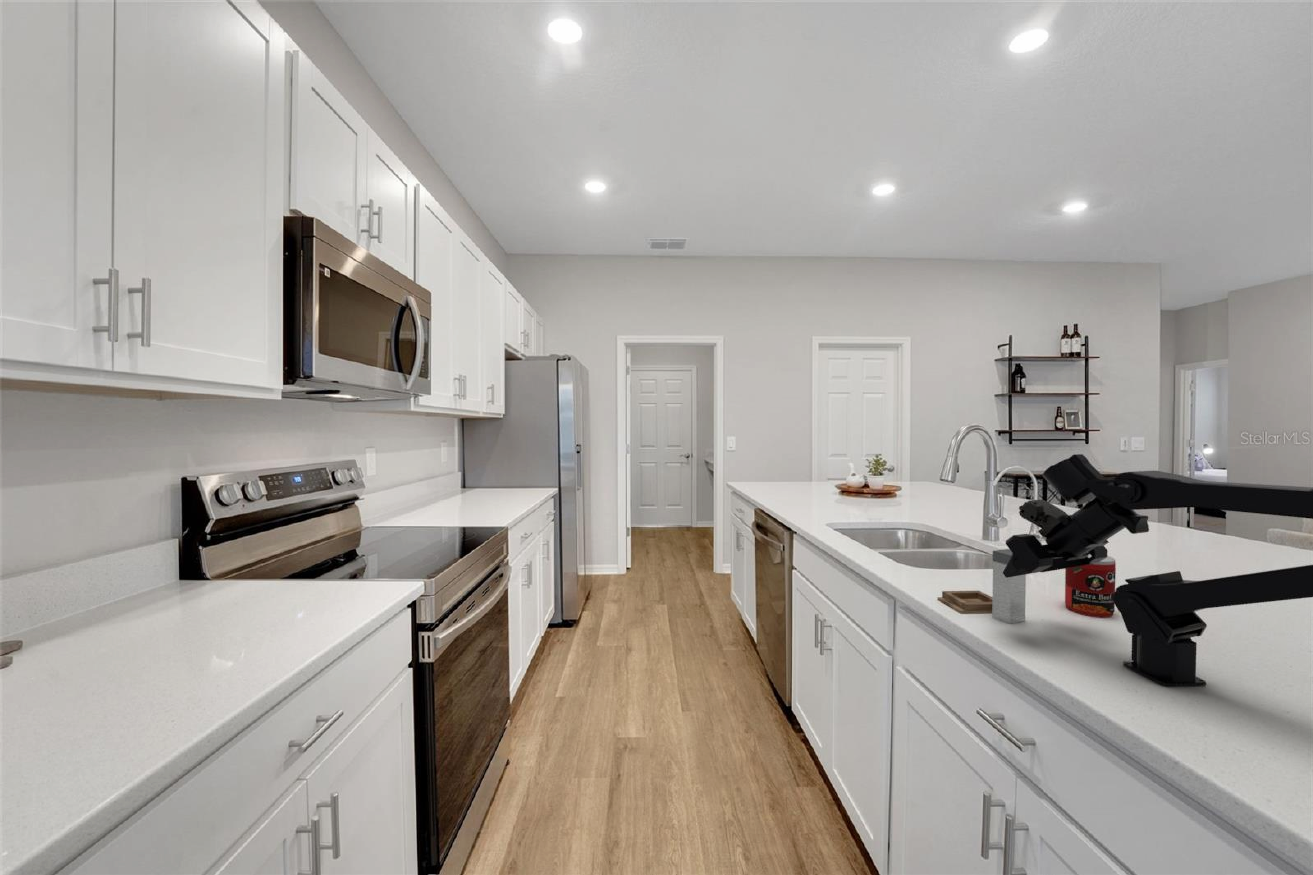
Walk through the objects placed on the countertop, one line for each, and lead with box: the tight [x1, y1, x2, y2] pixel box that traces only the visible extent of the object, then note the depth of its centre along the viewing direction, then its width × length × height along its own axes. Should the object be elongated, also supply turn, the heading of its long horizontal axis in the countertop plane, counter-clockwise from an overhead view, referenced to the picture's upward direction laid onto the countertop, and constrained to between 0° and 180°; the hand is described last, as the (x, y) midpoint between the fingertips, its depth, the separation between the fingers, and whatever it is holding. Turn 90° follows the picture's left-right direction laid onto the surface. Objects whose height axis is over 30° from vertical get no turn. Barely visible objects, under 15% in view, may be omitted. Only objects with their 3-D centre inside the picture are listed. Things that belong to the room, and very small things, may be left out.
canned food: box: [1064, 554, 1117, 618], centre depth 102 cm, size 8×8×11 cm
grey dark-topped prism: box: [991, 548, 1027, 625], centre depth 98 cm, size 4×4×13 cm
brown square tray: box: [937, 590, 993, 614], centre depth 105 cm, size 8×10×2 cm
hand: (1022, 572), depth 96 cm, fingers open, 9 cm apart
